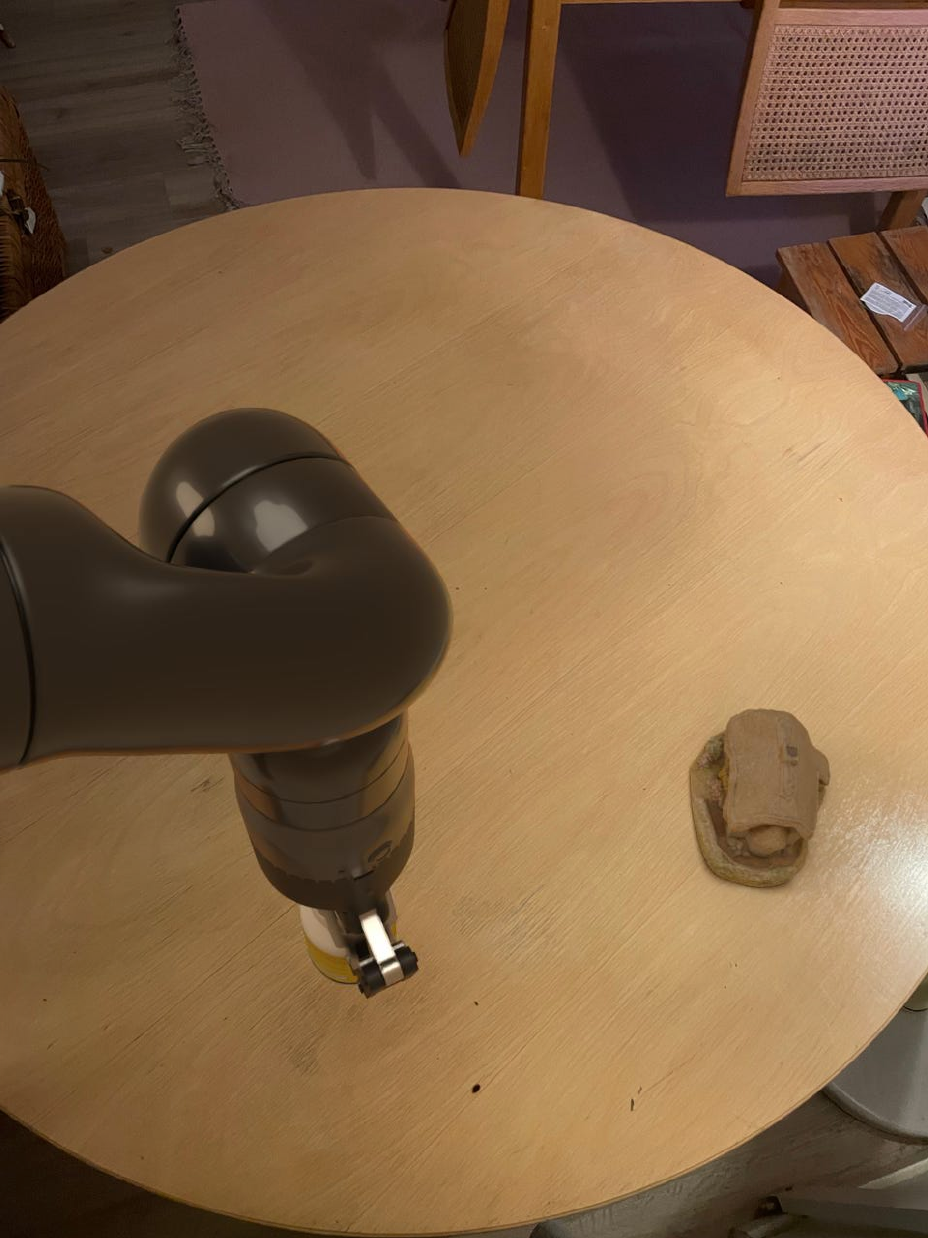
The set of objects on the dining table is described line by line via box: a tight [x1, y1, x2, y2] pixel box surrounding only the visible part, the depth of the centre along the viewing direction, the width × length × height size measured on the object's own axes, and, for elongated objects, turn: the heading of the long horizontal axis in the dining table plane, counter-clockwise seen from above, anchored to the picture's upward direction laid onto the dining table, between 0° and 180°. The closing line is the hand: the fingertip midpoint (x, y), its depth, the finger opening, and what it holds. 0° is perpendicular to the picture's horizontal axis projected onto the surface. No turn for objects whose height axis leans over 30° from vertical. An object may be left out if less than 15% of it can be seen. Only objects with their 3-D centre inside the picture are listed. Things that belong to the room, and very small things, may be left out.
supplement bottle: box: [299, 886, 397, 987], centre depth 60 cm, size 5×5×10 cm
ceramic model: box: [689, 708, 832, 888], centre depth 81 cm, size 14×11×10 cm
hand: (348, 915), depth 59 cm, fingers closed on supplement bottle, 5 cm apart
